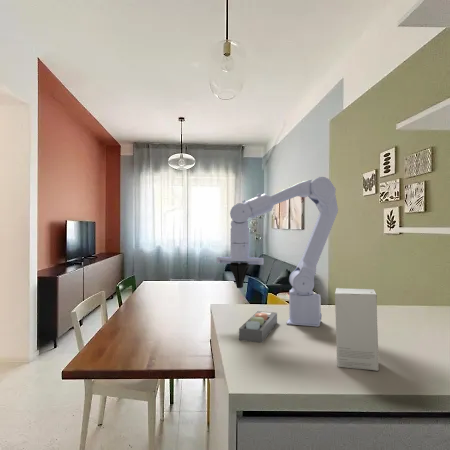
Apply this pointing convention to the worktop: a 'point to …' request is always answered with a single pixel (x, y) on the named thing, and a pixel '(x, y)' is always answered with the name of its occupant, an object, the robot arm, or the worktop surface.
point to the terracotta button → (262, 315)
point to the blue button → (253, 325)
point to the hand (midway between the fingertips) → (239, 287)
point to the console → (262, 332)
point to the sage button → (258, 320)
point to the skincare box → (356, 328)
